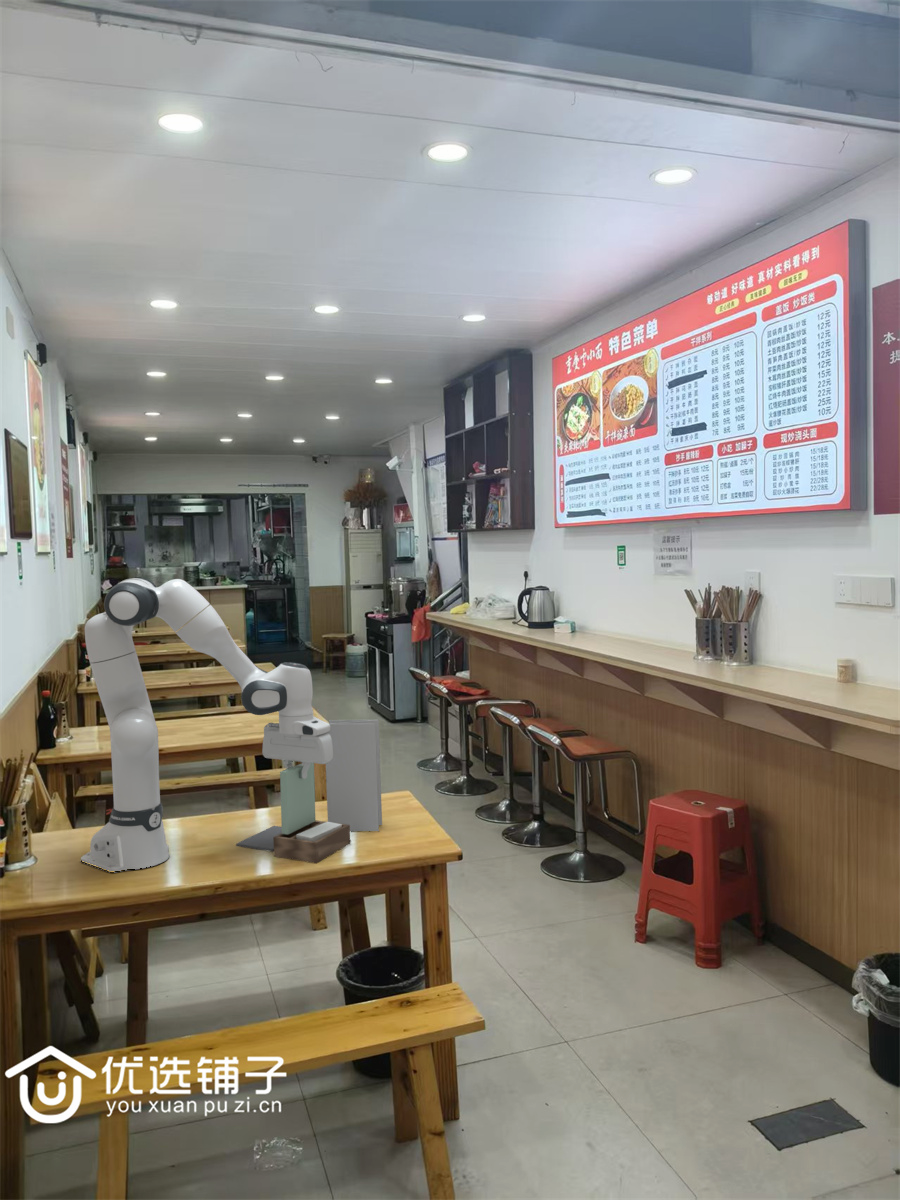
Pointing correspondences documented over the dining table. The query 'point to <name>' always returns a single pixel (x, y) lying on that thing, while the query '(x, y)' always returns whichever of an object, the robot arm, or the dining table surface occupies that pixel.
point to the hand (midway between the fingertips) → (297, 777)
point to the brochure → (354, 775)
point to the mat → (262, 839)
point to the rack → (311, 844)
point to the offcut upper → (318, 831)
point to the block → (297, 799)
